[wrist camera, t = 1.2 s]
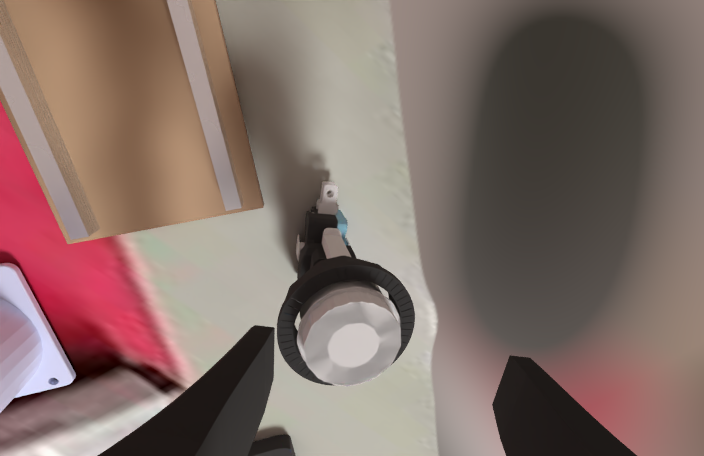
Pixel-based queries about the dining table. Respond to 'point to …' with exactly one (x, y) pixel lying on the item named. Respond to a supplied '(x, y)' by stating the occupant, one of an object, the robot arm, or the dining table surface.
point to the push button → (341, 306)
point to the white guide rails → (48, 146)
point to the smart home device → (273, 447)
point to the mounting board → (132, 109)
